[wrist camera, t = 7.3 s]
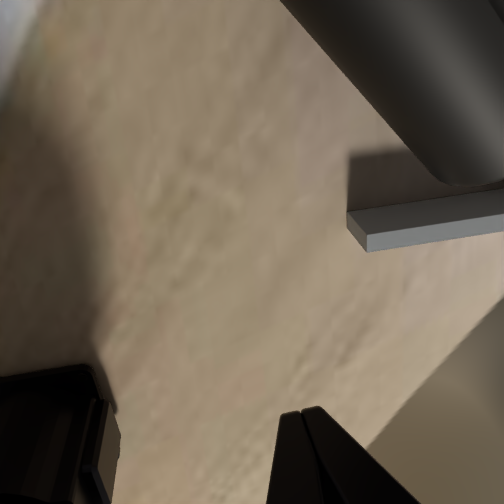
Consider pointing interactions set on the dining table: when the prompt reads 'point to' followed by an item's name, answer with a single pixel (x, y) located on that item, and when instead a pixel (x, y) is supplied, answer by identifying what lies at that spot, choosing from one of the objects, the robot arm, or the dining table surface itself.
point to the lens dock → (428, 220)
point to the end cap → (424, 75)
